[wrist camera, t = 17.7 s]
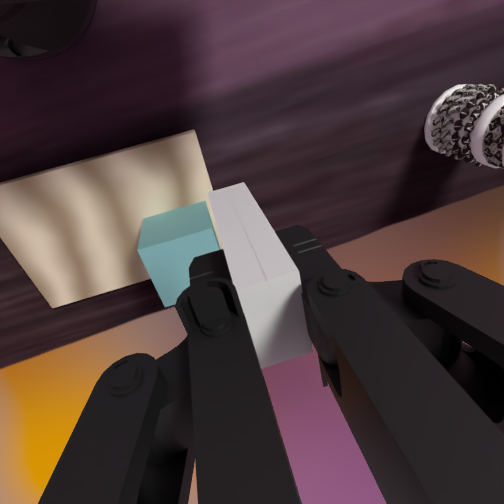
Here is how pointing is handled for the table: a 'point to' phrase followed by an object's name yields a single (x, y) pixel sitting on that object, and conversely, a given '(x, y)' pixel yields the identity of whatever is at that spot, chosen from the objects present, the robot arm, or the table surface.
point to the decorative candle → (468, 124)
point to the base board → (98, 215)
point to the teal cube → (175, 247)
